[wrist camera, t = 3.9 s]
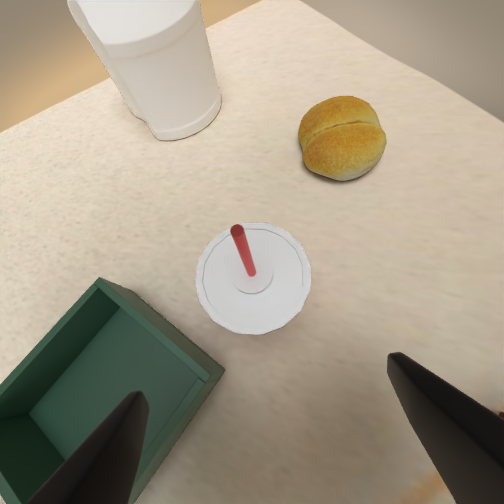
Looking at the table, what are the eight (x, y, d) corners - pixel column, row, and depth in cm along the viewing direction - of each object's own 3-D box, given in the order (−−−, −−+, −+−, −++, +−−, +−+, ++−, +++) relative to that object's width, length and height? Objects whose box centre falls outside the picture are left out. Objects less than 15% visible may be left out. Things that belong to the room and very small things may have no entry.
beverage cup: (248, 356, 20) (193, 366, 7) (215, 291, 22) (125, 207, 9) (313, 316, 21) (372, 257, 8) (274, 257, 23) (268, 133, 10)
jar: (234, 108, 30) (196, -98, 16) (169, 152, 29) (67, -33, 15) (182, 66, 34) (116, -128, 20) (123, 103, 33) (7, -79, 19)
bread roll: (307, 189, 25) (312, 162, 21) (293, 124, 28) (296, 90, 25) (392, 178, 25) (412, 147, 21) (368, 112, 28) (381, 76, 24)
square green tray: (114, 531, 17) (60, 590, 13) (24, 413, 20) (-42, 429, 16) (225, 369, 20) (211, 374, 16) (131, 290, 23) (98, 276, 19)
